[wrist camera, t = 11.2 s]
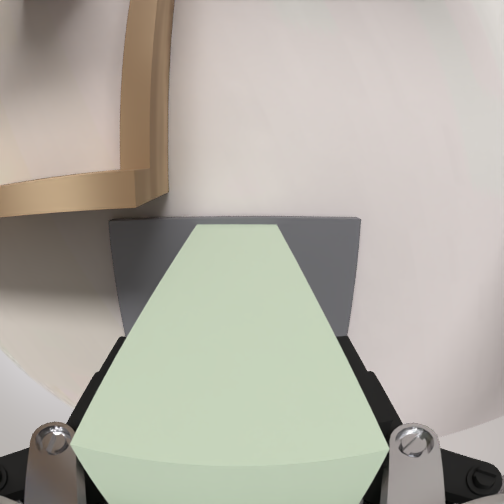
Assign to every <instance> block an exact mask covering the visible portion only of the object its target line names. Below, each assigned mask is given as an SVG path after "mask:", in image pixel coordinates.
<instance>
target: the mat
mask: <svg viewBox="0 0 504 504" xmlns="http://www.w3.org/2000/svg"><path fill="white" fill-rule="evenodd" d="M197 224H276V225H277V226H278V228H279V230H280V231H281V233H282V235H283V237H284V239H285V241H286V243H287V244H288V246H289V248H290V250H291V252H292V254H293V256H294V257H295V259H296V261H297V263H298V265H299V267H300V269H301V271H302V272H303V274H304V276H305V278H306V280H307V282H308V284H309V286H310V288H311V290H312V291H313V293H314V295H315V297H316V299H317V301H318V303H319V305H320V307H321V309H322V311H323V313H324V315H325V317H326V319H327V321H328V323H329V324H330V326H331V328H332V330H333V332H334V334H335V336H336V337H337V336H347V333H348V327H349V320H350V314H351V307H352V300H353V292H354V284H355V276H356V267H357V258H358V248H359V237H360V225H361V219H359V218H358V217H307V216H216V217H164V218H132V219H112V220H110V221H109V232H110V241H111V250H112V259H113V266H114V273H115V280H116V287H117V293H118V299H119V305H120V311H121V316H122V321H123V327H124V332H125V336H126V337H127V336H128V334H129V333H130V331H131V329H132V327H133V326H134V324H135V322H136V321H137V319H138V317H139V316H140V314H141V312H142V311H143V309H144V307H145V306H146V304H147V302H148V301H149V299H150V297H151V296H152V294H153V292H154V291H155V289H156V288H157V286H158V284H159V283H160V281H161V279H162V278H163V276H164V275H165V273H166V271H167V270H168V268H169V267H170V265H171V264H172V262H173V260H174V259H175V257H176V256H177V254H178V253H179V251H180V249H181V248H182V246H183V245H184V243H185V242H186V240H187V239H188V237H189V236H190V234H191V233H192V231H193V230H194V228H195V227H196V225H197Z"/></svg>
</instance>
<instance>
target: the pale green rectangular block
mask: <svg viewBox="0 0 504 504" xmlns="http://www.w3.org/2000/svg"><path fill="white" fill-rule="evenodd" d="M70 445H71V447H72V449H73V451H74V452H75V454H76V456H77V457H78V459H79V461H80V462H81V464H82V465H83V467H84V469H85V470H86V472H87V473H88V475H89V476H90V478H91V479H92V481H93V482H94V484H95V485H96V487H97V488H98V490H99V491H100V492H101V494H102V495H103V497H104V498H105V499H106V501H107V502H108V503H109V504H359V503H360V501H361V499H362V498H363V496H364V495H365V493H366V491H367V490H368V488H369V486H370V484H371V483H372V481H373V479H374V477H375V476H376V474H377V472H378V470H379V468H380V467H381V465H382V463H383V461H384V459H385V457H386V455H387V453H388V451H389V446H388V444H387V442H386V440H385V438H384V436H383V433H382V431H381V429H380V427H379V425H378V423H377V421H376V418H375V416H374V414H373V412H372V410H371V408H370V406H369V404H368V402H367V399H366V397H365V395H364V393H363V391H362V389H361V387H360V385H359V383H358V381H357V379H356V377H355V375H354V373H353V370H352V368H351V366H350V364H349V362H348V360H347V358H346V356H345V354H344V352H343V350H342V348H341V346H340V344H339V342H338V340H337V338H336V336H335V334H334V332H333V330H332V328H331V326H330V324H329V323H328V321H327V319H326V317H325V315H324V313H323V311H322V309H321V307H320V305H319V303H318V301H317V299H316V297H315V295H314V293H313V291H312V290H311V288H310V286H309V284H308V282H307V280H306V278H305V276H304V274H303V272H302V271H301V269H300V267H299V265H298V263H297V261H296V259H295V257H294V256H293V254H292V252H291V250H290V248H289V246H288V244H287V243H286V241H285V239H284V237H283V235H282V233H281V231H280V230H279V228H278V226H277V225H276V224H197V225H196V227H195V228H194V230H193V231H192V233H191V234H190V236H189V237H188V239H187V240H186V242H185V243H184V245H183V246H182V248H181V249H180V251H179V253H178V254H177V256H176V257H175V259H174V260H173V262H172V264H171V265H170V267H169V268H168V270H167V271H166V273H165V275H164V276H163V278H162V279H161V281H160V283H159V284H158V286H157V288H156V289H155V291H154V292H153V294H152V296H151V297H150V299H149V301H148V302H147V304H146V306H145V307H144V309H143V311H142V312H141V314H140V316H139V317H138V319H137V321H136V322H135V324H134V326H133V327H132V329H131V331H130V333H129V334H128V336H127V338H126V340H125V341H124V343H123V345H122V347H121V348H120V350H119V352H118V354H117V355H116V357H115V359H114V361H113V362H112V364H111V366H110V368H109V370H108V372H107V373H106V375H105V377H104V379H103V381H102V383H101V384H100V386H99V388H98V390H97V392H96V394H95V396H94V397H93V399H92V401H91V403H90V405H89V407H88V409H87V411H86V413H85V415H84V417H83V419H82V421H81V423H80V425H79V427H78V429H77V431H76V433H75V435H74V437H73V439H72V441H71V443H70Z"/></svg>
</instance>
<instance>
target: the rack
mask: <svg viewBox="0 0 504 504" xmlns="http://www.w3.org/2000/svg"><path fill="white" fill-rule="evenodd" d="M173 10H174V0H130V5H129V12H128V19H127V27H126V35H125V45H124V55H123V67H122V83H121V105H120V170H111V171H100V172H91V173H82V174H73V175H65V176H57V177H50V178H43V179H36V180H30V181H24V182H18V183H12V184H6V185H1V186H0V217H10V216H20V215H31V214H43V213H56V212H69V211H84V210H101V209H120V208H136V207H139V206H141V205H143V204H145V203H147V202H149V201H151V200H153V199H155V198H157V197H159V196H161V195H163V194H166V193H168V192H169V184H168V91H169V66H170V48H171V34H172V21H173Z"/></svg>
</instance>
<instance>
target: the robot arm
mask: <svg viewBox="0 0 504 504" xmlns="http://www.w3.org/2000/svg"><path fill="white" fill-rule="evenodd" d="M126 338H127V337H120V338H119V339H118V340H117V342H116V344H115V345H114V347H113V349H112V350H111V352H110V354H109V355H108V357H107V359H106V360H105V362H104V364H103V365H102V367H101V369H100V371H99V372H96V373H95V374H94V376H93V377H92V379H91V381H90V383H89V384H88V386H87V388H86V389H85V391H84V393H83V395H82V396H81V398H80V400H79V402H78V403H77V405H76V407H75V409H74V411H73V412H72V414H71V416H70V418H69V420H68V422H67V423H66V424H64V423H61V422H50V423H46V424H44V425H41V426H40V427H39V428H37V429H36V430H35V432H34V433H33V434H32V438H31V441H30V447H29V448H26V449H24V450H21V451H18V452H15V453H12V454H9V455H6V456H3V457H0V504H109V503H108V502H107V501H106V499H105V498H104V497H103V495H102V494H101V492H100V491H99V490H98V488H97V487H96V485H95V484H94V482H93V481H92V479H91V478H90V476H89V475H88V473H87V472H86V470H85V469H84V467H83V465H82V464H81V462H80V461H79V459H78V457H77V456H76V454H75V452H74V451H73V449H72V447H71V445H70V443H71V441H72V439H73V437H74V435H75V433H76V431H77V429H78V427H79V425H80V423H81V421H82V419H83V417H84V415H85V413H86V411H87V409H88V407H89V405H90V403H91V401H92V399H93V397H94V396H95V394H96V392H97V390H98V388H99V386H100V384H101V383H102V381H103V379H104V377H105V375H106V373H107V372H108V370H109V368H110V366H111V364H112V362H113V361H114V359H115V357H116V355H117V354H118V352H119V350H120V348H121V347H122V345H123V343H124V341H125V340H126ZM336 338H337V340H338V342H339V344H340V346H341V348H342V350H343V352H344V354H345V356H346V358H347V360H348V362H349V364H350V366H351V368H352V370H353V373H354V375H355V377H356V379H357V381H358V383H359V385H360V387H361V389H362V391H363V393H364V395H365V397H366V399H367V402H368V404H369V406H370V408H371V410H372V412H373V414H374V416H375V418H376V421H377V423H378V425H379V427H380V429H381V431H382V433H383V436H384V438H385V440H386V442H387V444H388V446H389V451H388V453H387V455H386V457H385V459H384V461H383V463H382V465H381V467H380V468H379V470H378V472H377V474H376V476H375V477H374V479H373V481H372V483H371V484H370V486H369V488H368V490H367V491H366V493H365V495H364V496H363V498H362V499H361V501H360V503H359V504H504V475H503V476H502V475H501V473H500V472H499V470H498V469H497V468H496V467H495V466H494V465H492V464H490V463H487V462H484V461H480V460H477V459H473V458H470V457H467V456H463V455H460V454H457V453H454V452H451V451H447V450H444V449H441V448H440V444H439V439H438V436H437V435H436V433H435V432H434V431H433V430H432V429H430V428H429V427H427V426H425V425H422V424H418V423H407V424H402V422H401V420H400V418H399V416H398V414H397V413H396V411H395V409H394V407H393V405H392V404H391V402H390V400H389V398H388V396H387V395H386V393H385V391H384V389H383V387H382V386H381V384H380V382H379V380H378V379H377V377H376V375H375V374H374V373H373V372H372V371H368V372H367V370H366V368H365V366H364V364H363V363H362V361H361V359H360V357H359V355H358V354H357V352H356V350H355V348H354V346H353V345H352V343H351V341H350V339H349V338H348V336H337V337H336Z"/></svg>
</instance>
